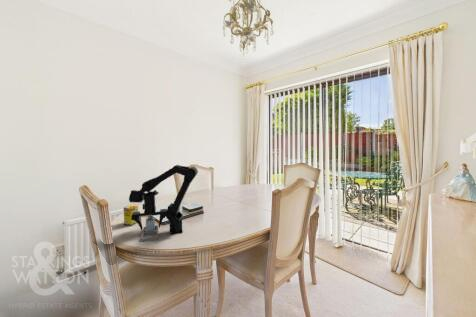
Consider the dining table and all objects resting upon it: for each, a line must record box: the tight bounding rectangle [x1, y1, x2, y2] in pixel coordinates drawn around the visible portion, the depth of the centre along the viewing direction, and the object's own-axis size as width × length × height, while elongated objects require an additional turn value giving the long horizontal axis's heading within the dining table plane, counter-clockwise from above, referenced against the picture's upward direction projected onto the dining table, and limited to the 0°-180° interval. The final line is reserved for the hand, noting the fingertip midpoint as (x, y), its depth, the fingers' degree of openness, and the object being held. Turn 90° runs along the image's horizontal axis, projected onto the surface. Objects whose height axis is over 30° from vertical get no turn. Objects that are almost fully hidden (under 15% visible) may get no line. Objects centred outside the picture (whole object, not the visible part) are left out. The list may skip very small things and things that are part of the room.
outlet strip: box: [139, 224, 159, 242], centre depth 117 cm, size 9×15×2 cm, turn 19°
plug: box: [145, 216, 156, 232], centre depth 120 cm, size 4×4×8 cm
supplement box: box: [123, 204, 139, 227], centre depth 130 cm, size 6×6×11 cm
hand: (150, 228), depth 120 cm, fingers open, 9 cm apart
